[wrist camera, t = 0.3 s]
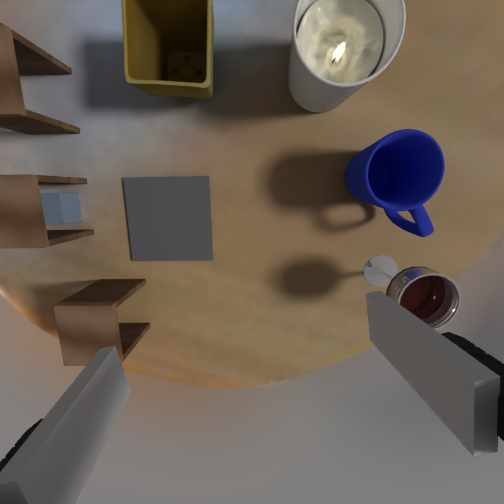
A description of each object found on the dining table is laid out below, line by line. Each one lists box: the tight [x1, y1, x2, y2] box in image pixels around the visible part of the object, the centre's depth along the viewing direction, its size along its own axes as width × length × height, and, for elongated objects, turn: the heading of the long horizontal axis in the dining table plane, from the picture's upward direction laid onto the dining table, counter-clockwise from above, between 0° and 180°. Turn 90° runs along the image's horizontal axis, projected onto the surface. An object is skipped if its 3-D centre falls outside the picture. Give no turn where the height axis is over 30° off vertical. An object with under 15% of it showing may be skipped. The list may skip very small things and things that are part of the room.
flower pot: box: [121, 0, 214, 99], centre depth 32 cm, size 9×9×9 cm
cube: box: [40, 193, 82, 224], centre depth 38 cm, size 4×4×4 cm
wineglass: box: [364, 255, 461, 330], centre depth 35 cm, size 7×7×12 cm
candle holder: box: [288, 0, 406, 113], centre depth 30 cm, size 10×10×12 cm
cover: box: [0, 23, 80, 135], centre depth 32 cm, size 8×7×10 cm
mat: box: [123, 176, 213, 261], centre depth 40 cm, size 12×12×1 cm
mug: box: [345, 129, 444, 237], centre depth 34 cm, size 8×12×10 cm
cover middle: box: [0, 175, 94, 248], centre depth 35 cm, size 8×7×10 cm
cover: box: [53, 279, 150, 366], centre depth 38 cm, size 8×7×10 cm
